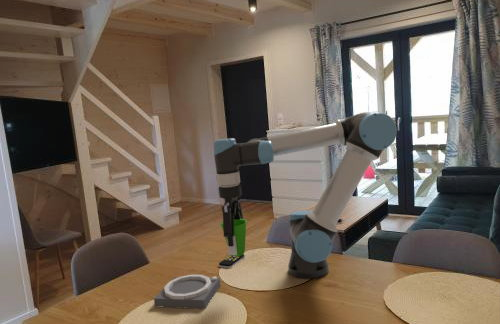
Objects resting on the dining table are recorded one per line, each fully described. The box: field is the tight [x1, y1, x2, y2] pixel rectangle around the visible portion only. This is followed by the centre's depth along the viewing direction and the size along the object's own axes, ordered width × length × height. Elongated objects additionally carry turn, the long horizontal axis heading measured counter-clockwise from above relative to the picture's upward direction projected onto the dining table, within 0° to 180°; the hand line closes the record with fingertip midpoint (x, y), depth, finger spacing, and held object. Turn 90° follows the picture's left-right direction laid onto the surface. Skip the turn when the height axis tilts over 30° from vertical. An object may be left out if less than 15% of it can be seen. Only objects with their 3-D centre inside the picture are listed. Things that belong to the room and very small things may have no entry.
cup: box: [220, 218, 248, 256], centre depth 125 cm, size 9×9×11 cm
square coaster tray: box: [153, 274, 221, 310], centre depth 129 cm, size 18×16×4 cm
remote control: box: [218, 253, 246, 269], centre depth 156 cm, size 6×13×2 cm, turn 150°
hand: (236, 249), depth 125 cm, fingers closed on cup, 9 cm apart
